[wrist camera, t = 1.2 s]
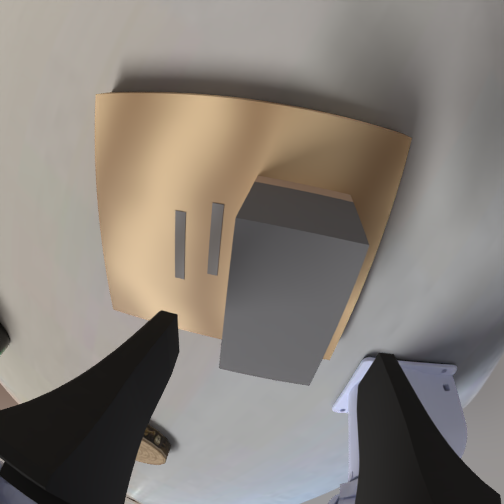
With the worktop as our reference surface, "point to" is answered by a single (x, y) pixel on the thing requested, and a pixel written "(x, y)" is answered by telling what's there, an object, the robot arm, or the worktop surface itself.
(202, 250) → the oak board
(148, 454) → the wood log slice
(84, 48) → the worktop surface
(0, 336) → the supplement bottle
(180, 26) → the worktop surface
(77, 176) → the worktop surface
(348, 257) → the block
